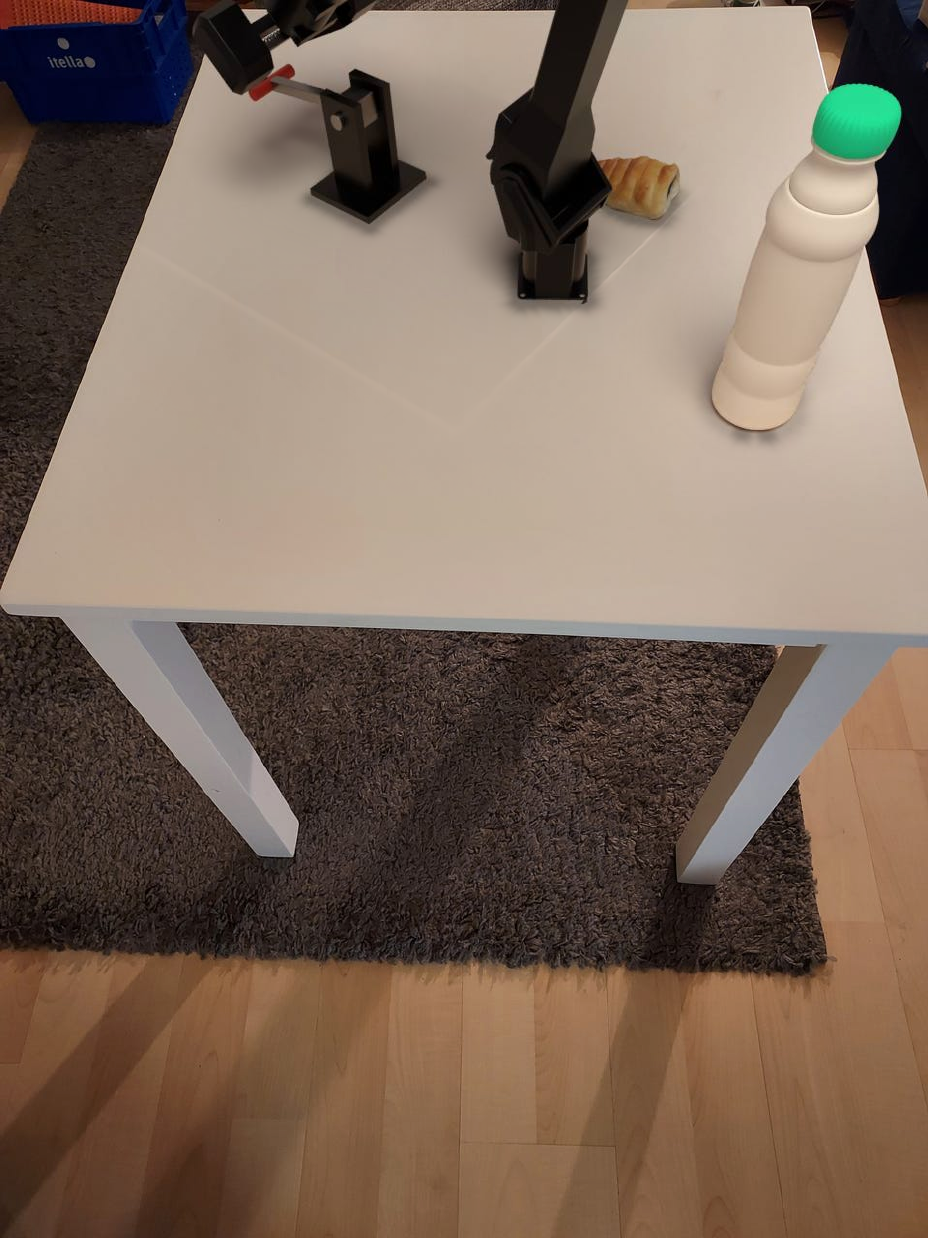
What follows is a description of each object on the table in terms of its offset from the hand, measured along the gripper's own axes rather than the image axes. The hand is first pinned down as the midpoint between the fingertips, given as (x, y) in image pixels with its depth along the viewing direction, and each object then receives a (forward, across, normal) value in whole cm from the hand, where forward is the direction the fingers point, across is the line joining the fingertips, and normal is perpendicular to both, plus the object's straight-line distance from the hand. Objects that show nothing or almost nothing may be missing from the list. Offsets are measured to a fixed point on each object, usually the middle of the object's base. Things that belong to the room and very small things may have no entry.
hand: (261, 60), depth 83 cm
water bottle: (-35, +2, +48) cm, 59 cm away
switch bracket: (-3, 0, +15) cm, 16 cm away
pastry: (-19, -14, +32) cm, 40 cm away
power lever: (-4, 0, +7) cm, 8 cm away
